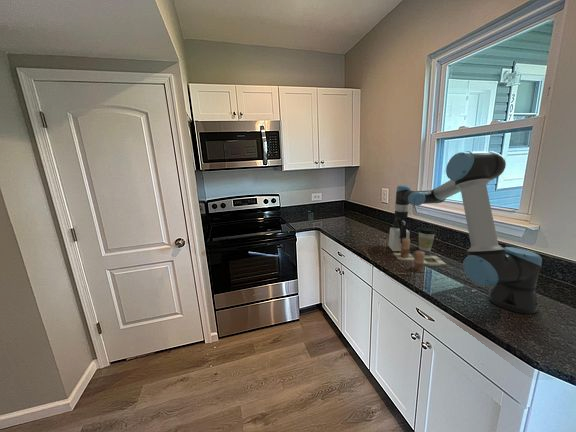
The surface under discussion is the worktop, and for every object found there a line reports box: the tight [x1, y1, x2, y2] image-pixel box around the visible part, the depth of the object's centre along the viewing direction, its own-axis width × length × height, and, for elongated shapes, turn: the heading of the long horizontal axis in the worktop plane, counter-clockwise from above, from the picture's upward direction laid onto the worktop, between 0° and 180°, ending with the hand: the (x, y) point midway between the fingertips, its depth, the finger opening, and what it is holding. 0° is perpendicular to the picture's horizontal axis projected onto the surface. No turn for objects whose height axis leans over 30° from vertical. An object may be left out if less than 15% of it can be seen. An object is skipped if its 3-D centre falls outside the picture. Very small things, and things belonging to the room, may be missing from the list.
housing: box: [388, 227, 411, 252], centre depth 157 cm, size 9×9×13 cm
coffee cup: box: [417, 226, 436, 252], centre depth 157 cm, size 10×10×15 cm
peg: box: [412, 249, 426, 274], centre depth 131 cm, size 4×4×11 cm
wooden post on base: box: [392, 237, 415, 261], centre depth 147 cm, size 11×10×12 cm
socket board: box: [413, 255, 447, 267], centre depth 140 cm, size 12×12×2 cm
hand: (398, 245), depth 158 cm, fingers closed on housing, 9 cm apart
